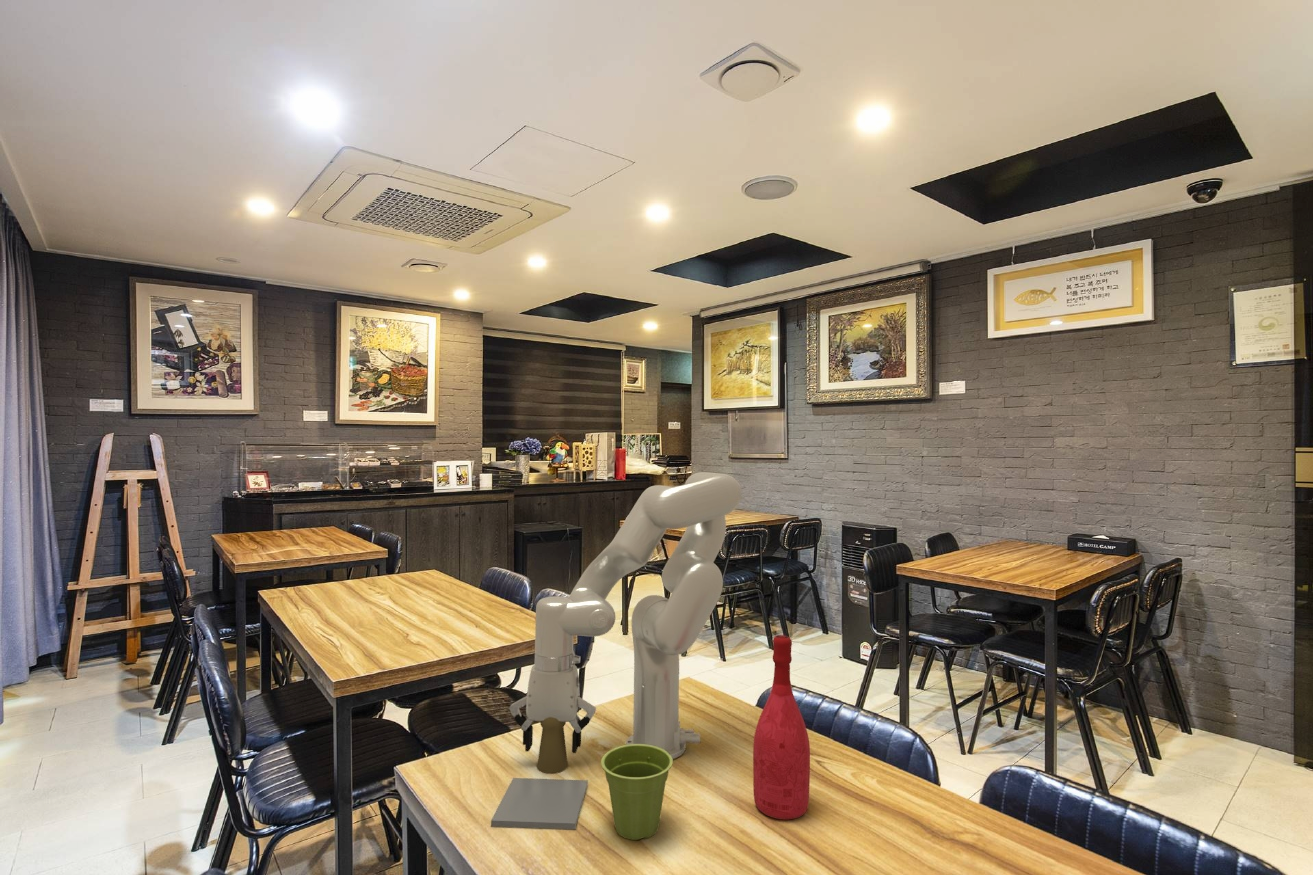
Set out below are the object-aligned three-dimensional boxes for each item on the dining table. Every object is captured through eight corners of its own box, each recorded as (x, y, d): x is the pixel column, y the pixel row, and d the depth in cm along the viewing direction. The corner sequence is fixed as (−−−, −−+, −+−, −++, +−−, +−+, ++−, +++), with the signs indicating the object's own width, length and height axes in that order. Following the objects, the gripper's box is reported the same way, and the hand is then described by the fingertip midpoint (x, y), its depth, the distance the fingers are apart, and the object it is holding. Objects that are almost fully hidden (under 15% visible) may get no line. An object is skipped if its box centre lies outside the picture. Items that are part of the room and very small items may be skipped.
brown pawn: (561, 775, 124) (562, 717, 125) (532, 771, 126) (533, 714, 126) (572, 760, 130) (572, 705, 131) (543, 757, 131) (544, 702, 132)
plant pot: (604, 807, 113) (605, 742, 114) (672, 809, 113) (672, 744, 113) (595, 849, 101) (597, 776, 102) (671, 851, 101) (672, 778, 101)
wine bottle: (812, 798, 117) (813, 631, 118) (806, 827, 108) (807, 646, 109) (758, 788, 120) (759, 626, 121) (747, 816, 111) (749, 640, 112)
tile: (587, 785, 121) (587, 780, 121) (575, 829, 107) (575, 823, 107) (513, 783, 121) (513, 777, 121) (490, 826, 107) (491, 820, 107)
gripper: (599, 656, 132) (598, 742, 131) (515, 653, 132) (513, 739, 132) (594, 668, 124) (592, 759, 124) (505, 665, 125) (503, 756, 125)
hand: (551, 748), depth 128 cm, fingers open, 8 cm apart
